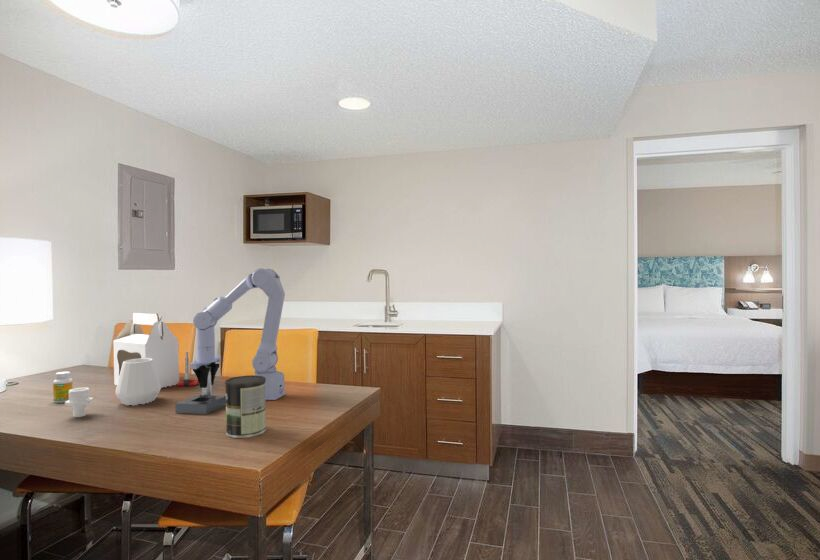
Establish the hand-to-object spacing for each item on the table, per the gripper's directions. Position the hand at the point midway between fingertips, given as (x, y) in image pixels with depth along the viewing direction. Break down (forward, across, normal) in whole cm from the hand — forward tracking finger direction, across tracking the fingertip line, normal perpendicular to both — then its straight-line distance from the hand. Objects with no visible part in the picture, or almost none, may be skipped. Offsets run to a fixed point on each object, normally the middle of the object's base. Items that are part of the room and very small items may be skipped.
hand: (206, 386), depth 165 cm
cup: (+4, +8, -20) cm, 22 cm away
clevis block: (+4, +13, +7) cm, 15 cm away
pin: (+3, 0, 0) cm, 3 cm away
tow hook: (+4, -19, -20) cm, 28 cm away
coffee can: (+4, +31, +33) cm, 45 cm away
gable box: (+4, -15, -36) cm, 39 cm away
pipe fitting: (+4, +25, -26) cm, 36 cm away
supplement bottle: (+4, +11, -47) cm, 48 cm away
